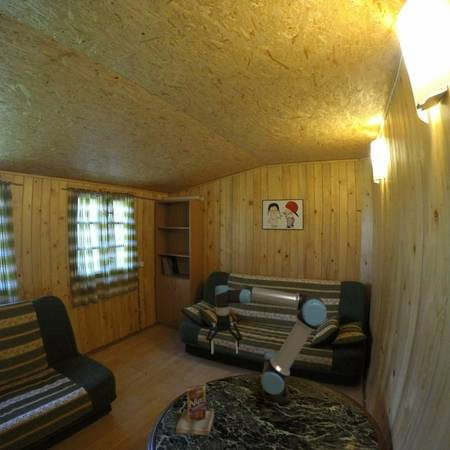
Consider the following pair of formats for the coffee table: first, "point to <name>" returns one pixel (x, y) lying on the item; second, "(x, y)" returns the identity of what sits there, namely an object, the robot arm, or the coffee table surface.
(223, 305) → the robot arm
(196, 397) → the candy box
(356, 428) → the coffee table surface
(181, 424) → the board
